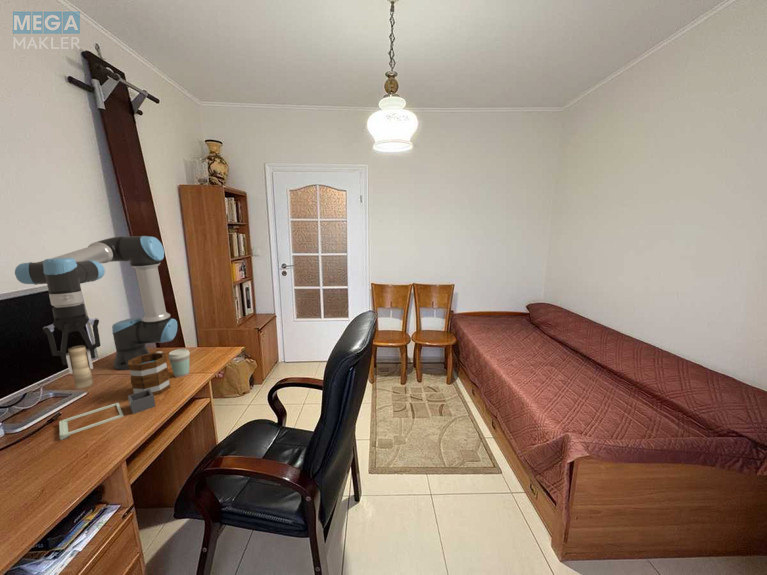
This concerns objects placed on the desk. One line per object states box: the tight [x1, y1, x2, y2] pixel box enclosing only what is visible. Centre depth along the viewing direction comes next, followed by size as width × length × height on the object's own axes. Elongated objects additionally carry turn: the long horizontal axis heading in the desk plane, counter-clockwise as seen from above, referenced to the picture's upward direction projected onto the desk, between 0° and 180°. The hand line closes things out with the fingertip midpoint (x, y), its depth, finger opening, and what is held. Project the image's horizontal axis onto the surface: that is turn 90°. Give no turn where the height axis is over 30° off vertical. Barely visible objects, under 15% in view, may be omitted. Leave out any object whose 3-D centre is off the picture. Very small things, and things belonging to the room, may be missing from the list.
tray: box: [58, 402, 124, 441], centre depth 109 cm, size 12×16×1 cm
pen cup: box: [127, 389, 156, 415], centre depth 117 cm, size 7×7×6 cm
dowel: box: [67, 344, 94, 390], centre depth 106 cm, size 4×4×14 cm
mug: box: [128, 350, 171, 397], centre depth 131 cm, size 20×14×15 cm
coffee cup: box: [167, 348, 191, 378], centre depth 142 cm, size 9×8×12 cm
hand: (81, 369), depth 106 cm, fingers closed on dowel, 4 cm apart
